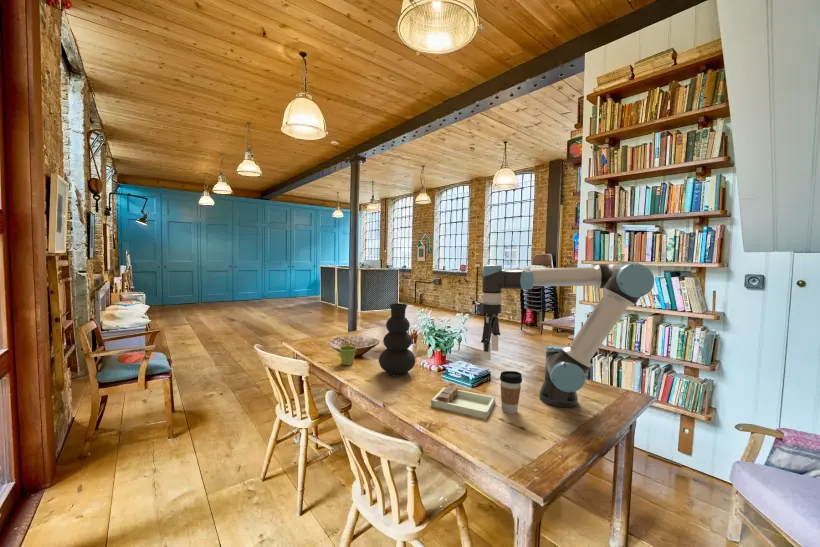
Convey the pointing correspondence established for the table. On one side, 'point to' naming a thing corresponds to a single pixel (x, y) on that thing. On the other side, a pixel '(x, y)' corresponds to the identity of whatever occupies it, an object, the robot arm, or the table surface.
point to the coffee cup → (510, 390)
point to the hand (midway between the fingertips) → (490, 354)
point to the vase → (397, 343)
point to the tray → (467, 404)
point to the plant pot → (347, 354)
